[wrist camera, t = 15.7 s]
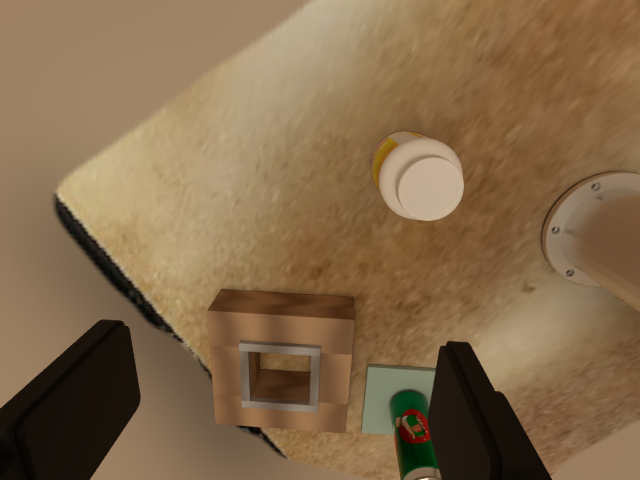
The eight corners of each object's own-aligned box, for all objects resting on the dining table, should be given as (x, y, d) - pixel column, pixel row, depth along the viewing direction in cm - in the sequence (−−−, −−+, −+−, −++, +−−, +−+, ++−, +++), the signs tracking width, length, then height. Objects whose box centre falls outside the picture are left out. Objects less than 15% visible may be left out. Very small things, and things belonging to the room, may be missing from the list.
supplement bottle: (376, 200, 40) (391, 242, 28) (364, 139, 38) (375, 155, 26) (439, 186, 39) (482, 223, 27) (430, 123, 37) (472, 132, 25)
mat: (454, 369, 47) (455, 372, 46) (441, 435, 51) (442, 438, 50) (367, 363, 47) (368, 367, 47) (361, 429, 51) (361, 432, 51)
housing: (353, 297, 44) (355, 323, 39) (345, 402, 50) (345, 437, 44) (221, 289, 45) (205, 313, 40) (227, 393, 50) (214, 427, 45)
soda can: (415, 424, 49) (437, 517, 38) (381, 409, 49) (393, 500, 38) (435, 397, 48) (464, 487, 37) (400, 382, 47) (419, 469, 36)
